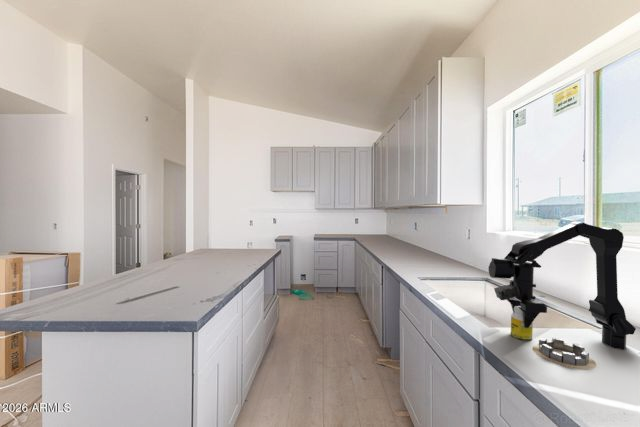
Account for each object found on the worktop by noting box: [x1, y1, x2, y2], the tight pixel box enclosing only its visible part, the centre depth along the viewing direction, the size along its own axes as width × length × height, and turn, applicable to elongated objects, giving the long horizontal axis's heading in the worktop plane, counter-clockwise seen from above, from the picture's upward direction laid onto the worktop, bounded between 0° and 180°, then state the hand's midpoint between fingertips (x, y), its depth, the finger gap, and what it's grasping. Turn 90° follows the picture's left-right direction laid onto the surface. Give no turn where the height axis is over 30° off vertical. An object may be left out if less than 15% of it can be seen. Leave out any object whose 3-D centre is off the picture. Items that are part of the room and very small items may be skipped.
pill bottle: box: [510, 306, 534, 342], centre depth 102 cm, size 6×6×11 cm
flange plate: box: [532, 343, 597, 370], centre depth 89 cm, size 15×15×1 cm
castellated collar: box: [538, 337, 590, 366], centre depth 89 cm, size 11×11×3 cm
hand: (521, 323), depth 102 cm, fingers closed on pill bottle, 6 cm apart
